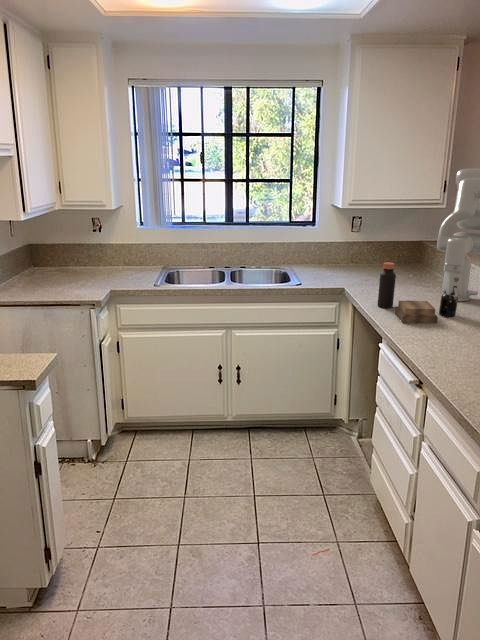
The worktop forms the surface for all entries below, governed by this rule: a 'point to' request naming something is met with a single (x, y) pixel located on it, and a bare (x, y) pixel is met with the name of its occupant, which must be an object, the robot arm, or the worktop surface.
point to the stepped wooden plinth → (416, 312)
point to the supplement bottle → (444, 306)
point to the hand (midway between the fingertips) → (448, 308)
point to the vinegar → (387, 286)
